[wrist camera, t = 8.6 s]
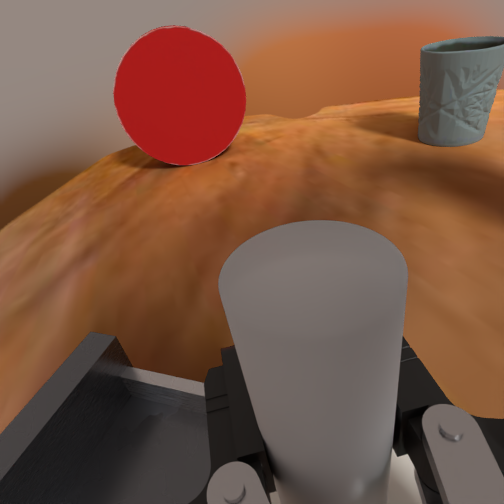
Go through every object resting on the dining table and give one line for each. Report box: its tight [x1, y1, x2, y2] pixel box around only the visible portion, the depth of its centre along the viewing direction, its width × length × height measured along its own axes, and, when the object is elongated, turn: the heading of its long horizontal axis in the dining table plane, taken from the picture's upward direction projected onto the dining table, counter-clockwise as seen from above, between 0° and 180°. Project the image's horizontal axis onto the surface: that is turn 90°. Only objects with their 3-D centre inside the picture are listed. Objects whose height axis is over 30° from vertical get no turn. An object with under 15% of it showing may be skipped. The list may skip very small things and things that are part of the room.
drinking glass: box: [418, 36, 504, 147], centre depth 50 cm, size 10×10×12 cm
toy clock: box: [113, 25, 246, 165], centre depth 59 cm, size 20×6×20 cm, turn 103°
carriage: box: [218, 220, 422, 504], centre depth 11 cm, size 8×8×15 cm
